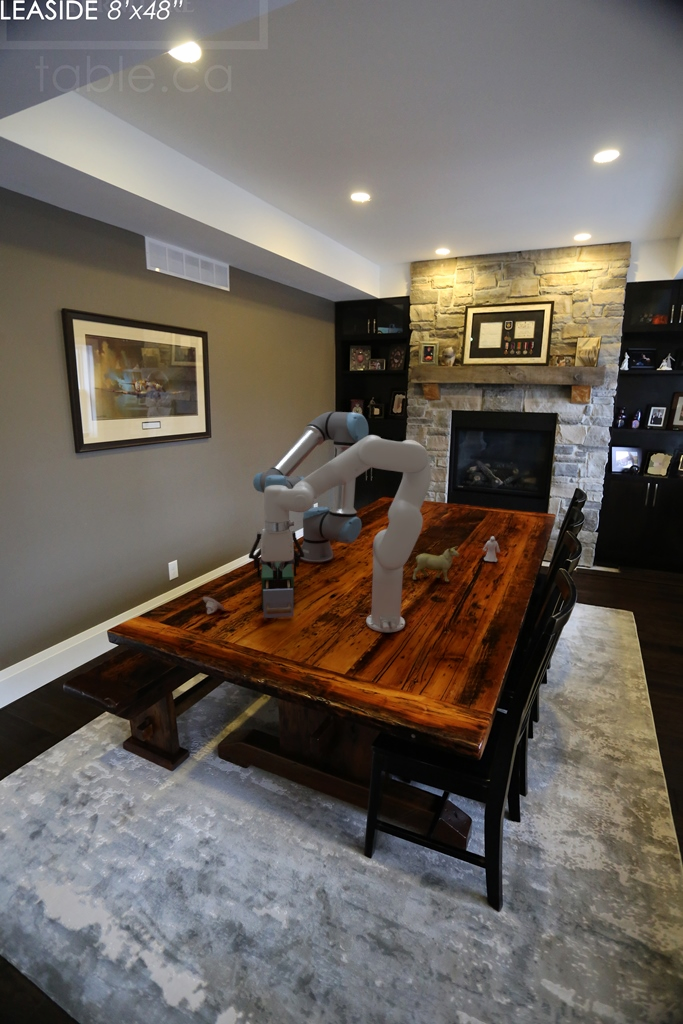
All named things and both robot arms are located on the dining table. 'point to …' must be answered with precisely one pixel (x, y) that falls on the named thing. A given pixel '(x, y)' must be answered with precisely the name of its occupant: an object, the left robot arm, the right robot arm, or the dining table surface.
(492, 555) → the figurine
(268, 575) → the cabinet
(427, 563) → the toy
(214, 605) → the seashell
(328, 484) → the right robot arm
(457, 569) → the dining table surface
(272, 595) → the drawer
